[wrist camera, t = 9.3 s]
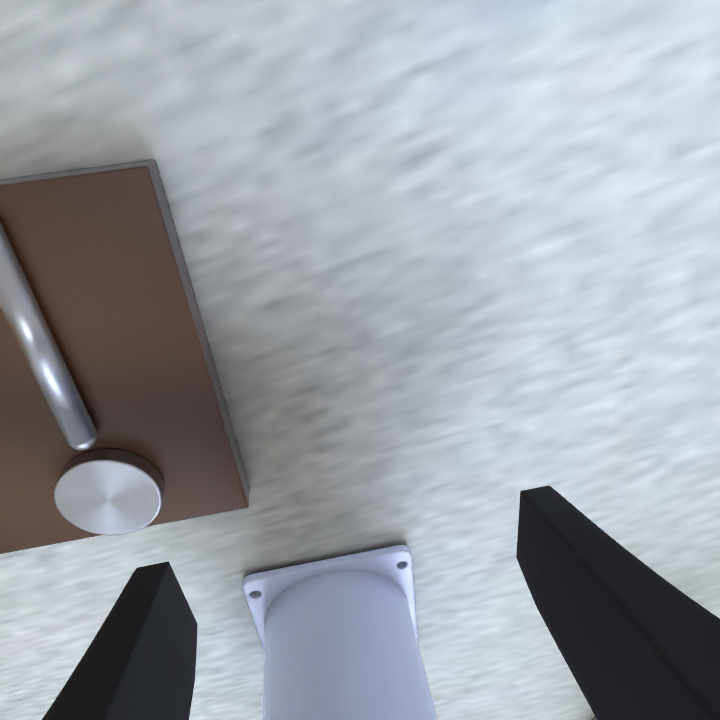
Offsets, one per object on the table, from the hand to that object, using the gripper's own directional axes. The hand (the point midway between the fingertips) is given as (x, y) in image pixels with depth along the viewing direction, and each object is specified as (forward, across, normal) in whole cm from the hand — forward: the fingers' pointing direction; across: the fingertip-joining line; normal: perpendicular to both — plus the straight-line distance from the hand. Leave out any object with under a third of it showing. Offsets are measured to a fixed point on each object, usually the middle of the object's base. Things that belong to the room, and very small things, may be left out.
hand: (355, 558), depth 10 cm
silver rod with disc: (+8, +8, 0) cm, 12 cm away
